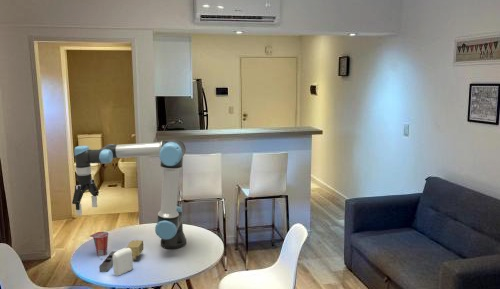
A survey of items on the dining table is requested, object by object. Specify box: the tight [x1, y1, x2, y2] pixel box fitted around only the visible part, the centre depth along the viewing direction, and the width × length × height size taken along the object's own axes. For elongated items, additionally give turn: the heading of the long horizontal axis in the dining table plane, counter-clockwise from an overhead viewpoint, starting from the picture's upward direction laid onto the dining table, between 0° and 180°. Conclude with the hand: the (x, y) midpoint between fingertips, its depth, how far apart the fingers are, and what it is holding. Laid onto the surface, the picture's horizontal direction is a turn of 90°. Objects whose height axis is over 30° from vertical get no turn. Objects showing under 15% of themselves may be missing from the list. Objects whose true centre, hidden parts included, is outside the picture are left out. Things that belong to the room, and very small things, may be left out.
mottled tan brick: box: [126, 239, 145, 262], centre depth 226 cm, size 6×9×8 cm
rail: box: [98, 250, 118, 273], centre depth 220 cm, size 18×4×3 cm, turn 178°
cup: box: [89, 231, 109, 257], centre depth 230 cm, size 9×8×12 cm
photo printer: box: [112, 247, 134, 277], centre depth 210 cm, size 10×4×12 cm, turn 140°
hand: (87, 211), depth 227 cm, fingers open, 13 cm apart
